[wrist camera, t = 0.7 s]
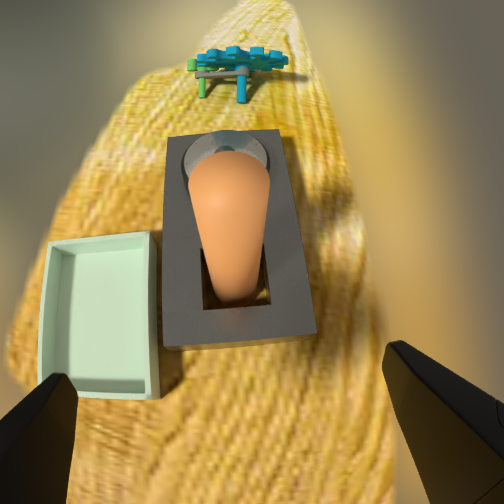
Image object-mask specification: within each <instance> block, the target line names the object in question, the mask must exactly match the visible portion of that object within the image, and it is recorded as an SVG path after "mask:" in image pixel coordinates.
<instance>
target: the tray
mask: <svg viewBox="0 0 504 504" xmlns="http://www.w3.org/2000/svg"><path fill="white" fill-rule="evenodd" d="M54 372H58V373H65V374H66V375H67V376H68V377H69V379H70V381H71V382H72V384H73V386H74V387H75V389H76V391H77V393H78V397H89V398H106V399H137V400H154V399H161V393H160V378H159V360H158V336H157V244H156V242H155V240H154V239H153V237H152V235H151V233H150V231H144V232H134V233H124V234H114V235H105V236H96V237H87V238H78V239H69V240H60V241H52V242H49V244H48V250H47V256H46V263H45V270H44V277H43V286H42V295H41V306H40V318H39V335H38V385H39V384H40V383H42V382H43V381H44V380H45V379H46V378H47V377H48V376H49V375H51V374H52V373H54Z"/></svg>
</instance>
